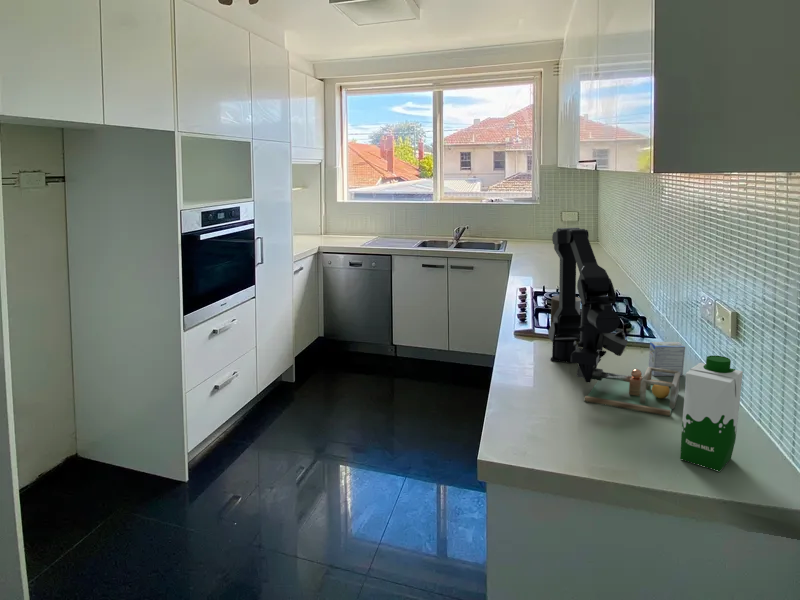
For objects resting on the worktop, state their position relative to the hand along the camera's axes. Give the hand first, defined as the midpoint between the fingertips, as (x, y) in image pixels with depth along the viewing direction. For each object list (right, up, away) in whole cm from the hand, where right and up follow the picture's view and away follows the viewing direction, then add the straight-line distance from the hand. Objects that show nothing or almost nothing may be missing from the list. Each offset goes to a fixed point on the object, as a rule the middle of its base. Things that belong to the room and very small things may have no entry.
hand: (589, 380), depth 144 cm
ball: (+15, -1, -9) cm, 17 cm away
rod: (+4, -2, -2) cm, 5 cm away
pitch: (+10, -3, -5) cm, 11 cm away
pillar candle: (+7, +8, +46) cm, 48 cm away
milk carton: (+10, -10, -37) cm, 40 cm away
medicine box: (+24, 0, +9) cm, 26 cm away
